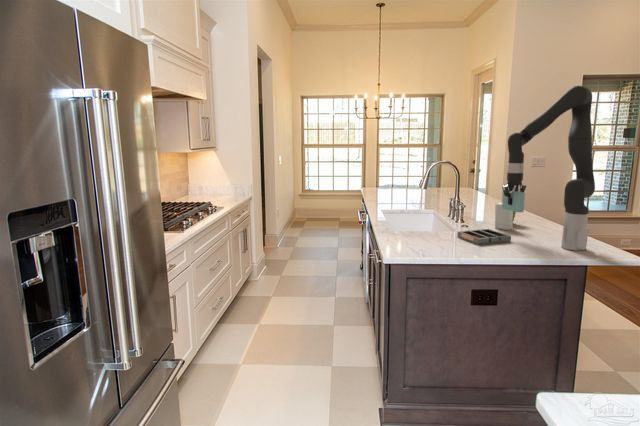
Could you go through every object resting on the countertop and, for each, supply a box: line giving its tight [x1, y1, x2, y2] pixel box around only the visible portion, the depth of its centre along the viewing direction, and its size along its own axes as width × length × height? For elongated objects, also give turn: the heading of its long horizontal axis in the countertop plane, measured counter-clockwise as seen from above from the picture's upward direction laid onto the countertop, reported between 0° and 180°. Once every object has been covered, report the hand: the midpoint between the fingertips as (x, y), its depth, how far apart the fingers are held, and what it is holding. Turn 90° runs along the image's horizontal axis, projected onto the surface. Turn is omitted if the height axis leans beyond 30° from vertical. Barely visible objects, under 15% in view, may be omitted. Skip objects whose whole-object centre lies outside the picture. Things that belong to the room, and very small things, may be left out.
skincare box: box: [494, 202, 514, 231], centre depth 227 cm, size 8×6×15 cm
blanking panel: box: [501, 191, 526, 213], centre depth 206 cm, size 12×3×10 cm, turn 16°
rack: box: [457, 228, 512, 246], centre depth 205 cm, size 17×20×3 cm
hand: (513, 204), depth 207 cm, fingers closed on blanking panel, 3 cm apart
